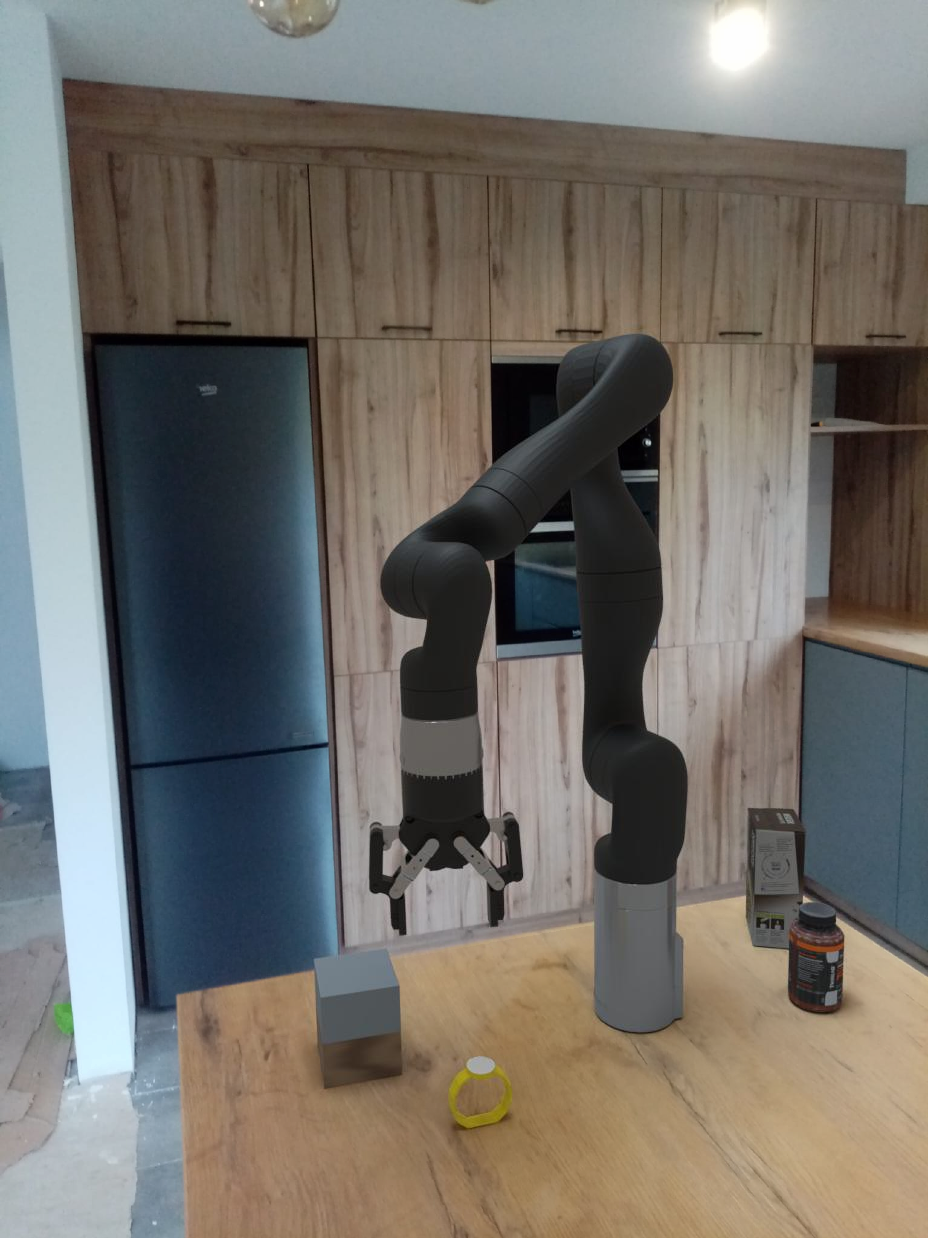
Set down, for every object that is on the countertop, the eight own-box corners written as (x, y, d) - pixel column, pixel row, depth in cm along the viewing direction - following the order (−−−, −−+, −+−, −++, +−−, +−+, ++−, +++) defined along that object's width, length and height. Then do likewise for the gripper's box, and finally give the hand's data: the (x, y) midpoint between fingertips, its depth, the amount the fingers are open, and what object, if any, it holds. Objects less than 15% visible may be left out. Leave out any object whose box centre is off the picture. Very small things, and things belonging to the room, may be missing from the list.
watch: (504, 1109, 87) (507, 1052, 86) (513, 1128, 84) (517, 1069, 83) (445, 1117, 85) (448, 1059, 84) (452, 1137, 82) (455, 1077, 82)
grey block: (388, 990, 99) (386, 948, 98) (401, 1031, 91) (399, 985, 90) (315, 1002, 97) (313, 959, 96) (322, 1044, 89) (320, 997, 88)
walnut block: (389, 1032, 99) (388, 990, 99) (402, 1076, 92) (400, 1031, 91) (317, 1044, 97) (315, 1002, 97) (324, 1090, 90) (322, 1044, 89)
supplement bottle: (848, 1017, 100) (851, 922, 99) (792, 1013, 101) (795, 919, 100) (835, 989, 106) (838, 899, 105) (783, 985, 107) (785, 896, 106)
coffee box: (803, 950, 115) (807, 831, 113) (751, 947, 116) (754, 829, 114) (792, 918, 124) (795, 807, 122) (744, 915, 125) (746, 805, 123)
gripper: (511, 744, 85) (515, 903, 88) (363, 754, 84) (370, 916, 86) (525, 767, 78) (529, 940, 80) (363, 778, 76) (372, 954, 79)
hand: (447, 927), depth 83 cm, fingers open, 8 cm apart
